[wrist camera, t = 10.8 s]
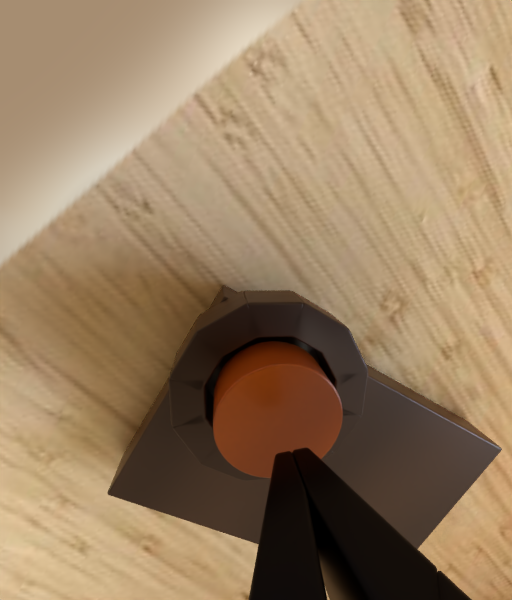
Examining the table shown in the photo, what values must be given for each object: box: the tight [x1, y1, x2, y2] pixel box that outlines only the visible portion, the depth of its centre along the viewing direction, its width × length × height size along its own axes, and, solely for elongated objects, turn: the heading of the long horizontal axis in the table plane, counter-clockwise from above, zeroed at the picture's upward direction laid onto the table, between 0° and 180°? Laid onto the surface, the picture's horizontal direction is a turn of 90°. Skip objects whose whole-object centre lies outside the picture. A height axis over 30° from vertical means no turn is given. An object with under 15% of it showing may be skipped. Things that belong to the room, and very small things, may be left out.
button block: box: [108, 285, 502, 549], centre depth 13 cm, size 16×11×4 cm
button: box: [213, 341, 343, 478], centre depth 10 cm, size 4×4×2 cm
